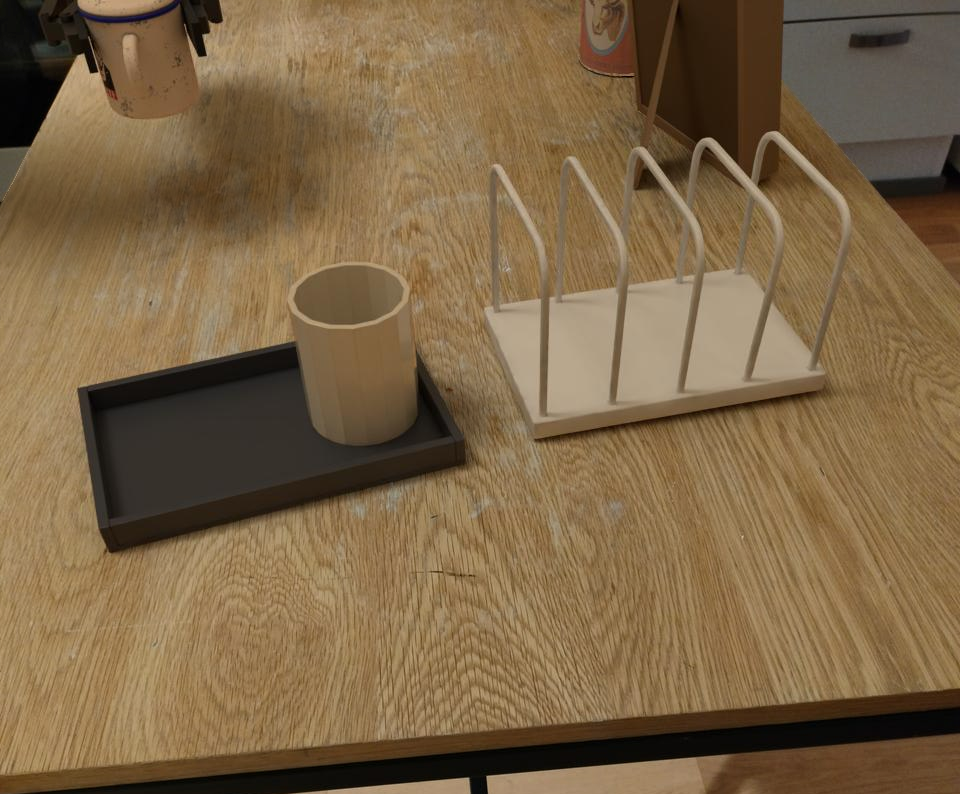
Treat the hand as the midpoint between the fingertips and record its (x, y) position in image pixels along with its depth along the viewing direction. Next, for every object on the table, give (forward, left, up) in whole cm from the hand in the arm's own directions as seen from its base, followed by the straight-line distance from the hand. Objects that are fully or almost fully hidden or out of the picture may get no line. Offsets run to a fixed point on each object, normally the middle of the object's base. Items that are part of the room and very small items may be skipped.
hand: (144, 47), depth 84 cm
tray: (+1, -34, -18) cm, 38 cm away
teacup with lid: (0, +4, -7) cm, 8 cm away
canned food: (+60, +25, -18) cm, 67 cm away
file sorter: (+34, -35, -18) cm, 52 cm away
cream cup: (+9, -34, -18) cm, 39 cm away
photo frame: (+53, -1, -18) cm, 56 cm away
